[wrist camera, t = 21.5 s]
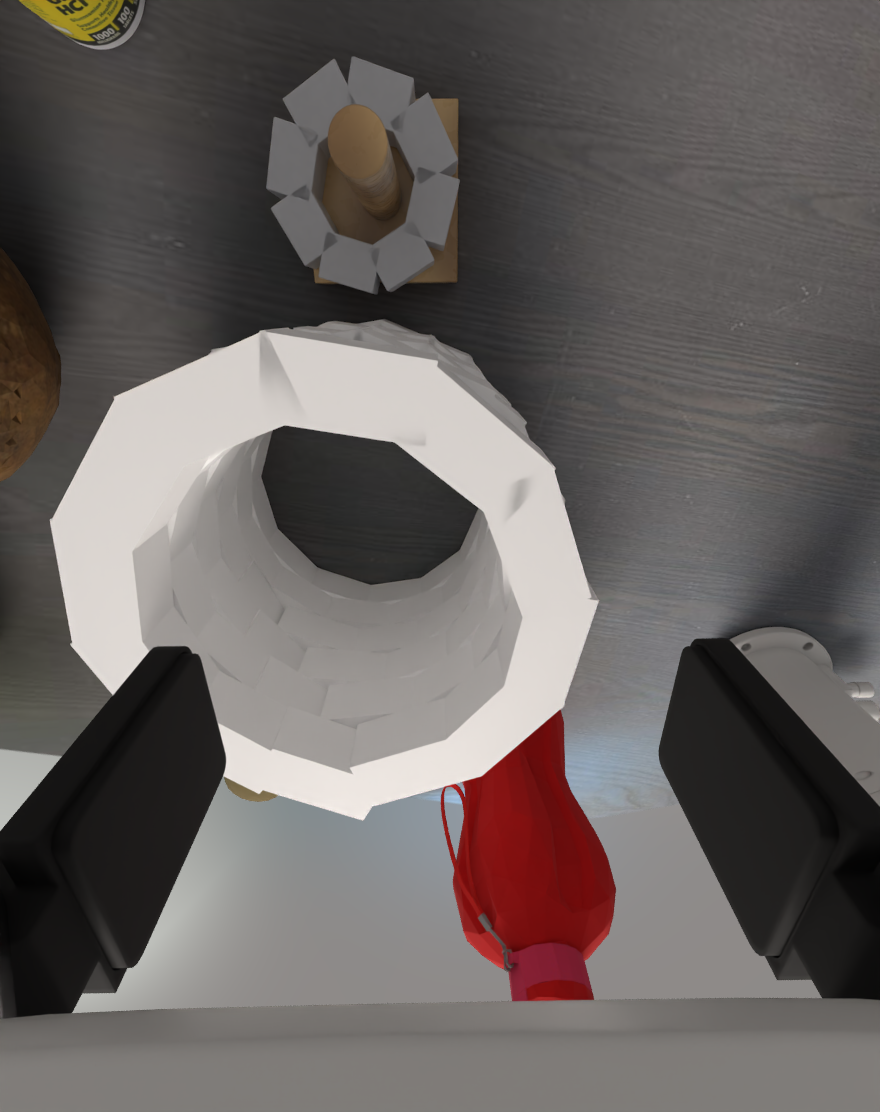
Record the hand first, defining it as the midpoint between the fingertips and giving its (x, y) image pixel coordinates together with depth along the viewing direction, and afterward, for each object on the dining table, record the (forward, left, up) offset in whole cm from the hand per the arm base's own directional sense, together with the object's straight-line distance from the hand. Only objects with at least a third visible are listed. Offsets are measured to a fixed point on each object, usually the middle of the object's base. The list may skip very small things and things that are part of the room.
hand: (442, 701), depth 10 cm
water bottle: (-5, +26, -30) cm, 40 cm away
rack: (+3, -13, -30) cm, 33 cm away
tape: (+4, -13, -29) cm, 32 cm away
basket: (+5, +6, -30) cm, 31 cm away
